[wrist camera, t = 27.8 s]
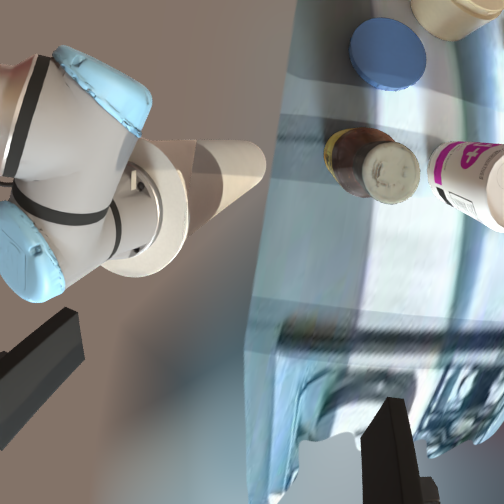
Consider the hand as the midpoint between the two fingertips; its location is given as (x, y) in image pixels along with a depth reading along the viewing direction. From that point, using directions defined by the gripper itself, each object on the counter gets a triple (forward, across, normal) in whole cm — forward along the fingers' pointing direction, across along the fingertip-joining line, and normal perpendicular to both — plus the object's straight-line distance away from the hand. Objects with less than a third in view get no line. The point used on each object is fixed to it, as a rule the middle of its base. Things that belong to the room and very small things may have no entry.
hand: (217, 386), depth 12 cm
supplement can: (+31, +20, +11) cm, 38 cm away
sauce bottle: (+31, +6, +9) cm, 33 cm away
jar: (+31, +15, +33) cm, 47 cm away
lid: (+29, +8, +23) cm, 38 cm away
